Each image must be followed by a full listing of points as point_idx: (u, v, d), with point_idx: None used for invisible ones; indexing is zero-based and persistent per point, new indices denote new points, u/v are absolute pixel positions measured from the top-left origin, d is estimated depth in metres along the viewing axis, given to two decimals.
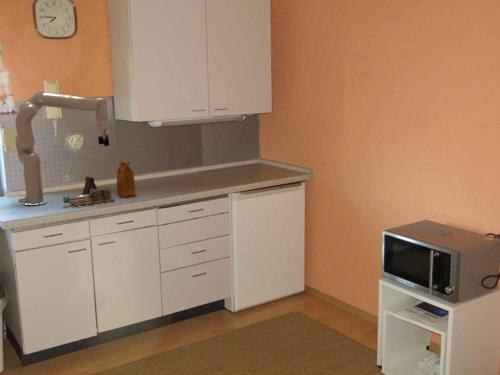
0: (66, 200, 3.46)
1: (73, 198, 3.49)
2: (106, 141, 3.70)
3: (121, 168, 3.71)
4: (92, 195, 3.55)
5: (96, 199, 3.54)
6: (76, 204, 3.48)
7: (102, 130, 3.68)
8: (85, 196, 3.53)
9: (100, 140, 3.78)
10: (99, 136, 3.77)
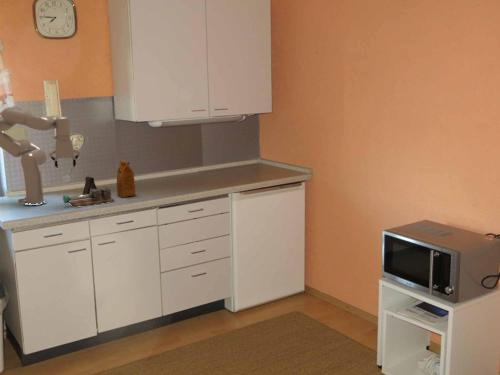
0: (66, 200, 3.46)
1: (73, 198, 3.49)
2: (75, 161, 3.51)
3: (121, 168, 3.71)
4: (92, 195, 3.55)
5: (96, 199, 3.54)
6: (76, 204, 3.48)
7: (73, 150, 3.48)
8: (85, 196, 3.53)
9: None
10: None
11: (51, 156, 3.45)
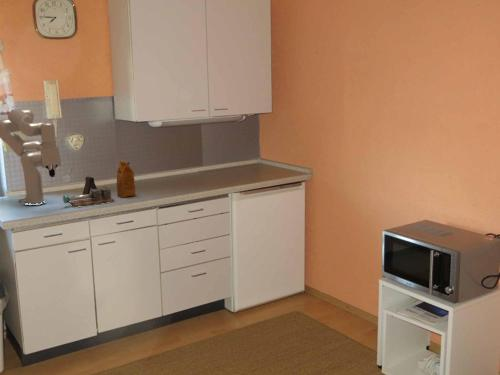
0: (66, 200, 3.46)
1: (73, 198, 3.49)
2: (54, 171, 3.42)
3: (121, 168, 3.71)
4: (92, 195, 3.55)
5: (96, 199, 3.54)
6: (76, 204, 3.48)
7: None
8: (85, 196, 3.53)
9: None
10: (50, 167, 3.39)
11: (45, 166, 3.38)
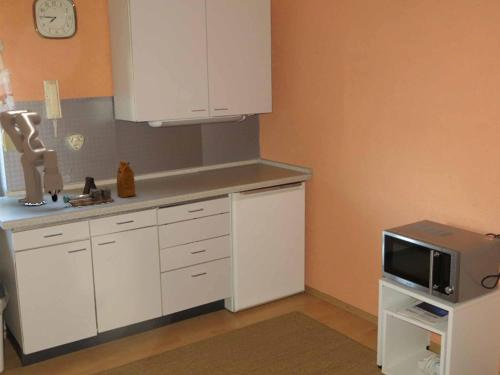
0: (66, 200, 3.46)
1: (73, 198, 3.49)
2: None
3: (121, 168, 3.71)
4: (92, 195, 3.55)
5: (96, 199, 3.54)
6: (76, 204, 3.48)
7: (62, 182, 3.43)
8: (85, 196, 3.53)
9: None
10: None
11: (47, 192, 3.41)
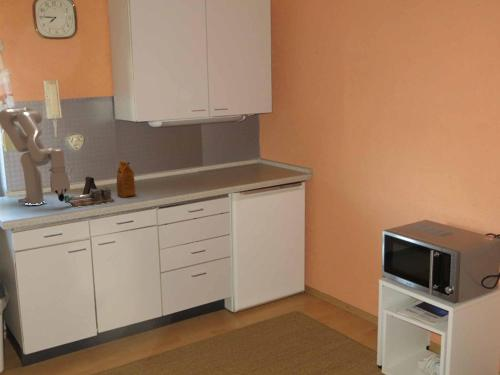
0: (67, 200, 3.46)
1: (74, 198, 3.50)
2: (63, 195, 3.47)
3: (121, 168, 3.71)
4: (93, 195, 3.55)
5: (96, 199, 3.54)
6: (76, 204, 3.48)
7: None
8: (86, 196, 3.53)
9: None
10: (59, 191, 3.44)
11: (54, 191, 3.43)
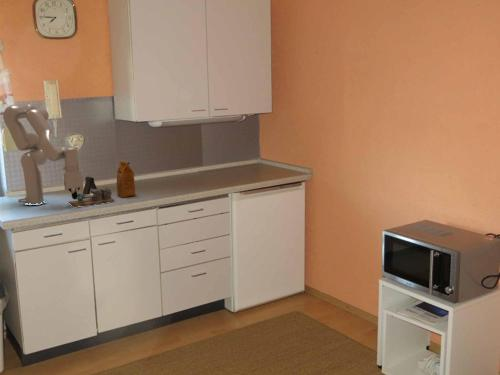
0: (80, 198, 3.50)
1: (87, 196, 3.54)
2: (76, 194, 3.51)
3: (121, 168, 3.71)
4: None
5: (96, 199, 3.54)
6: (76, 204, 3.48)
7: (82, 180, 3.49)
8: None
9: None
10: None
11: (68, 189, 3.47)
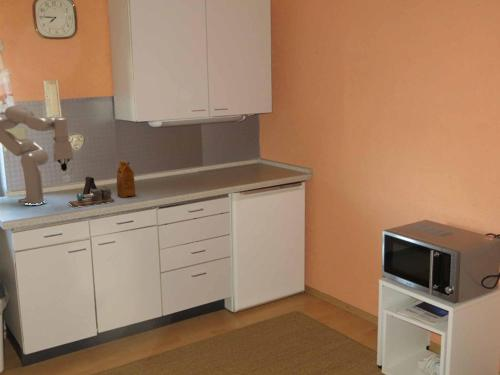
0: (80, 198, 3.50)
1: (86, 196, 3.53)
2: None
3: (121, 168, 3.71)
4: None
5: (96, 199, 3.54)
6: (76, 204, 3.48)
7: None
8: None
9: None
10: (62, 161, 3.44)
11: (57, 160, 3.43)
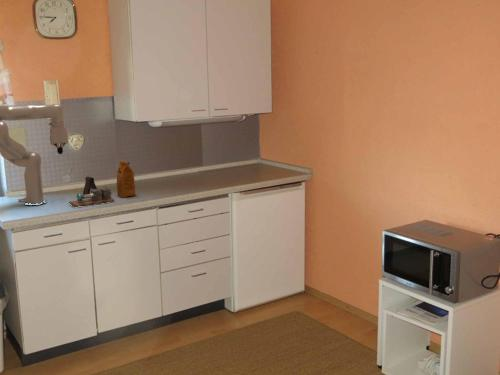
0: (80, 198, 3.50)
1: (86, 196, 3.53)
2: None
3: (121, 168, 3.71)
4: None
5: (96, 199, 3.54)
6: (76, 204, 3.48)
7: None
8: None
9: None
10: (58, 144, 3.69)
11: (53, 144, 3.68)
